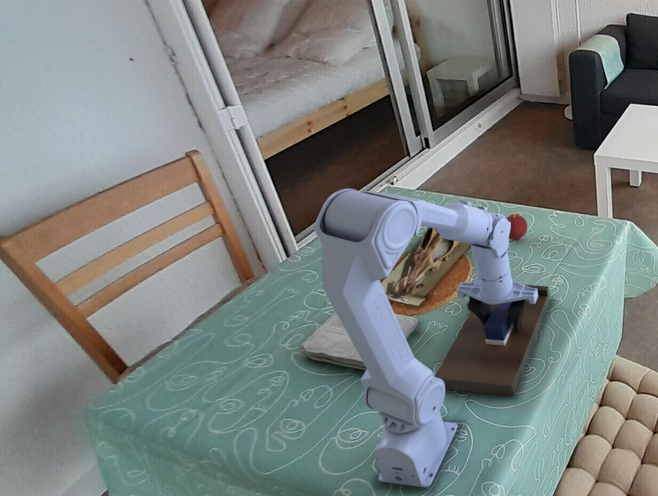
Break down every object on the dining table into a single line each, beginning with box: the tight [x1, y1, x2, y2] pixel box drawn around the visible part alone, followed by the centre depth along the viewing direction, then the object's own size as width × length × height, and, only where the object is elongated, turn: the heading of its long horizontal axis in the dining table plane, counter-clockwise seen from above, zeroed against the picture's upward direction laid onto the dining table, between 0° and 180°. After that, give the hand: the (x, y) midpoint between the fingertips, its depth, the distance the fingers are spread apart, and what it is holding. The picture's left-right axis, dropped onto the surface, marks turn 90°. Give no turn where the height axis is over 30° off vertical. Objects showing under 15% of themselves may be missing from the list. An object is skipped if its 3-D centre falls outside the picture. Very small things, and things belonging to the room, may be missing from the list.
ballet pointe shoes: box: [380, 227, 471, 307], centre depth 115 cm, size 14×7×28 cm
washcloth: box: [300, 310, 419, 371], centre depth 95 cm, size 12×18×3 cm, turn 78°
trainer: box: [484, 302, 513, 346], centre depth 94 cm, size 8×4×4 cm, turn 173°
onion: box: [505, 212, 528, 241], centre depth 121 cm, size 6×6×8 cm
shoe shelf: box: [434, 284, 551, 397], centre depth 94 cm, size 22×14×4 cm, turn 173°
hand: (503, 325), depth 95 cm, fingers open, 5 cm apart
